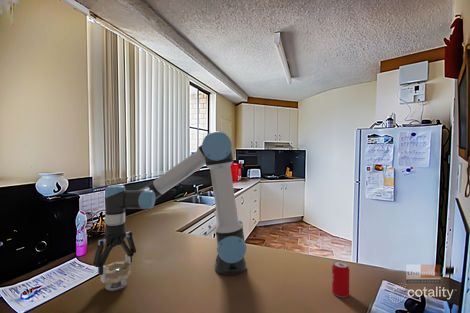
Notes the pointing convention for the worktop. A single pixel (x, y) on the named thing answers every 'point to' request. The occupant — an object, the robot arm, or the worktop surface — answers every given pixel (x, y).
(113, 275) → the ring
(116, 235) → the robot arm
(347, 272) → the beverage can
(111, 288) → the post
